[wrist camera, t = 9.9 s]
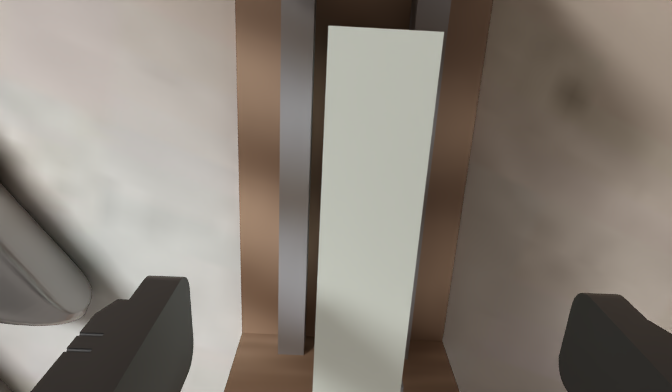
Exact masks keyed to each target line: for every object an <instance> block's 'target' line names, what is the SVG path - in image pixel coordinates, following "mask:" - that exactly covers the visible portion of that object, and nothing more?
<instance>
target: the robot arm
mask: <svg viewBox="0 0 672 392" xmlns="http://www.w3.org/2000/svg"><path fill="white" fill-rule="evenodd" d="M192 355H193V329H192V315H191V301H190V288H189V282H188V280H187V278H186V277H170V276H147V277H146V278H145V279H144V280H143V282H142V283H141V284H140V286H139V287H138V288H137V290H136V291H135V292H134V294H133V295H132V296H131V298H130V299H129V300H123V299H118V300H116V301H115V302H113V303H112V304H110V305H108V306H107V307H105V308H104V309H102V310H101V311H99V312H97V313H96V314H95V315H94V316H93V317H92V318H91V319H90V321H89V322H88V323H87V324H86V325H85V327H84V328H83V329H82V330H81V332H80V335H79V336H76V338H75V339H74V340H73V341H72V342H71V344H70V345H69V346H68V347H67V351H66V352H63V353H62V354H61V356H60V357H59V358H58V359H57V361H56V362H55V363H54V364H53V365H52V367H51V368H50V369H49V370H48V371H47V373H46V374H45V375H44V376H43V377H42V379H41V380H40V381H39V382H38V383H37V385H36V386H35V387H34V388H33V390H32V391H31V392H180V391H181V389H182V387H183V384H184V382H185V379H186V377H187V375H188V372H189V369H190V366H191V361H192ZM559 371H560V376H561V379H562V382H563V384H564V386H565V388H566V390H567V391H568V392H672V334H671V333H669V332H667V331H666V330H664V329H662V328H661V327H659V326H657V325H656V324H654V323H652V322H651V321H649V320H647V319H646V318H645V317H644V316H643V315H642V314H641V313H640V312H639V311H638V310H637V309H635V308H634V307H633V306H632V305H631V304H630V303H629V302H628V301H627V300H626V299H625V298H624V297H622V296H621V295H617V294H593V293H580V294H578V295H577V296H576V297H575V298H574V300H573V303H572V307H571V311H570V314H569V318H568V322H567V326H566V330H565V334H564V338H563V342H562V346H561V350H560V354H559Z"/></svg>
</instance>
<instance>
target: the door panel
mask: <svg viewBox="0 0 672 392" xmlns="http://www.w3.org/2000/svg"><path fill="white" fill-rule="evenodd" d="M443 37H444V32H436V31H417V30H399V29H381V28H363V27H345V26H328V47H327V70H326V93H325V116H324V139H323V162H322V185H321V208H320V231H319V253H318V276H317V299H316V322H315V345H314V368H313V391H312V392H403V388H404V386H403V381H402V374H403V366H404V358H405V349H406V341H407V333H408V325H409V317H410V308H411V300H412V292H413V284H414V276H415V267H416V259H417V251H418V243H419V234H420V226H421V218H422V210H423V202H424V193H425V185H426V177H427V169H428V161H429V152H430V144H431V136H432V128H433V120H434V111H435V103H436V95H437V87H438V78H439V70H440V62H441V54H442V46H443Z"/></svg>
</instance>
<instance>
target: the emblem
mask: <svg viewBox="0 0 672 392" xmlns="http://www.w3.org/2000/svg"><path fill="white" fill-rule="evenodd" d="M91 297H92V289H91V286H90V284H89V282H88V280H87V278H86V277H85V275H84V274H83V273H82V271H81V270H80V269H79V268H78V267H77V266H76V264H75V263H74V262H73V261H72V260H71V259H70V258H69V257H68V256H67V255H66V253H65V252H64V251H63V250H62V249H61V248H60V247H59V246H58V245H57V244H56V243H55V242H54V241H53V239H52V238H51V237H50V236H49V235H48V234H47V233H46V232H45V231H44V230H43V229H42V228H41V227H40V226H39V224H38V223H37V222H36V221H35V220H34V219H33V218H32V217H31V216H30V215H29V214H28V213H27V212H26V210H25V209H24V208H23V207H22V206H21V205H20V204H19V203H18V202H17V201H16V200H15V199H14V197H13V196H12V195H11V194H10V193H9V192H8V191H7V190H6V189H5V188H4V187H3V186H2V184H1V183H0V323H4V324H14V325H29V326H48V325H59V324H65V323H69V322H72V321H75V320H77V319H79V318H81V317H82V316H83V315H84V314H85V312H86V310H87V307H88V305H89V303H90V301H91ZM0 392H13V391H12V390H11V389H10V388H9V387H8V386H7V385H6V384H5V383H4V382H3V381H2V380H1V379H0Z"/></svg>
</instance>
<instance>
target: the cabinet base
mask: <svg viewBox="0 0 672 392" xmlns="http://www.w3.org/2000/svg"><path fill="white" fill-rule="evenodd" d="M492 4H493V0H235V13H236V60H237V108H238V155H239V202H240V249H241V297H242V335H241V339H240V342H239V345H238V348H237V351H236V355H235V358H234V361H233V364H232V368H231V371H230V374H229V377H228V380H227V384H226V387H225V390H224V392H312V391H313V368H314V345H315V322H316V299H317V276H318V253H319V231H320V208H321V185H322V162H323V139H324V116H325V93H326V70H327V47H328V26H345V27H363V28H381V29H399V30H417V31H436V32H444V37H443V46H442V54H441V62H440V70H439V78H438V87H437V95H436V103H435V111H434V120H433V128H432V136H431V144H430V152H429V161H428V169H427V177H426V185H425V193H424V202H423V210H422V218H421V226H420V234H419V243H418V251H417V259H416V267H415V276H414V284H413V292H412V300H411V308H410V317H409V325H408V333H407V341H406V349H405V358H404V366H403V374H402V381H403V386H404V388H403V392H459V389H458V386H457V384H456V381H455V378H454V375H453V372H452V369H451V366H450V363H449V360H448V357H447V354H446V351H445V348H444V345H443V342H442V340H443V333H444V326H445V320H446V313H447V306H448V299H449V293H450V286H451V279H452V272H453V266H454V259H455V252H456V246H457V239H458V232H459V225H460V219H461V212H462V205H463V199H464V192H465V185H466V178H467V172H468V165H469V158H470V152H471V145H472V138H473V131H474V125H475V118H476V111H477V105H478V98H479V91H480V84H481V78H482V71H483V64H484V58H485V51H486V44H487V37H488V31H489V24H490V17H491V11H492Z"/></svg>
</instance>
